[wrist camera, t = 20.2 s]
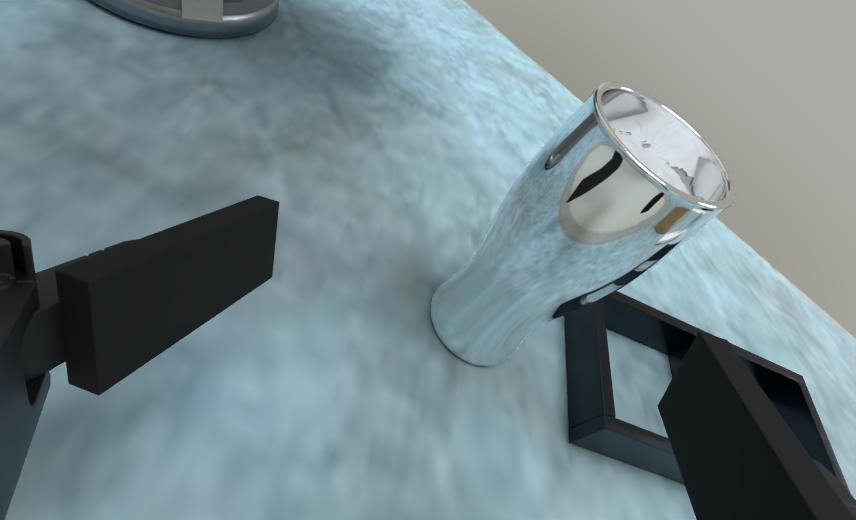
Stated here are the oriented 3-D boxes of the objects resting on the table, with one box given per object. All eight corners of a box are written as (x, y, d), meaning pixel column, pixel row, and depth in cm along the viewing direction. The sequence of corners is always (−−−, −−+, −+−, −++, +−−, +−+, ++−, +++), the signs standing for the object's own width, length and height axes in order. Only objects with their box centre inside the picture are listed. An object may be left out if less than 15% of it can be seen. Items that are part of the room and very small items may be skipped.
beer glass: (412, 349, 25) (597, 153, 14) (433, 256, 29) (584, 53, 18) (520, 391, 26) (765, 242, 15) (524, 296, 31) (715, 129, 20)
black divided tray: (563, 301, 32) (591, 279, 30) (765, 389, 36) (802, 375, 34) (569, 442, 26) (605, 428, 24) (814, 531, 30) (864, 525, 28)
